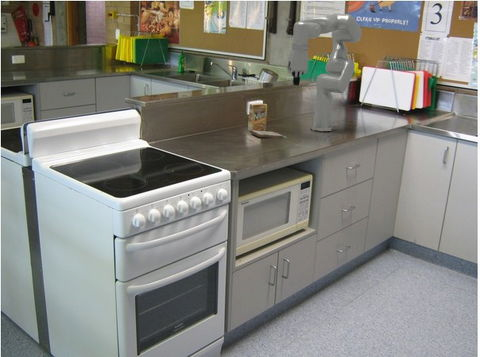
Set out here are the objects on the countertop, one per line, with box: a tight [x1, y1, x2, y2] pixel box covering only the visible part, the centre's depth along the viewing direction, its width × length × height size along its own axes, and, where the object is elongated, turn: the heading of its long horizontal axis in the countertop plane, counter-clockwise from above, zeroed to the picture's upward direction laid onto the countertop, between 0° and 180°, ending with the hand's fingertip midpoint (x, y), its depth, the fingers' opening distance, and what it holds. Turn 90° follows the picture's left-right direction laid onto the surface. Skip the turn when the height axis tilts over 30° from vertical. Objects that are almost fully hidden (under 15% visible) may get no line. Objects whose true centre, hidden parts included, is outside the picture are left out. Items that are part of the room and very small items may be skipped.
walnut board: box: [249, 130, 284, 139], centre depth 266 cm, size 1×10×14 cm
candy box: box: [247, 103, 268, 132], centre depth 276 cm, size 9×4×15 cm, turn 118°
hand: (296, 85), depth 266 cm, fingers closed
